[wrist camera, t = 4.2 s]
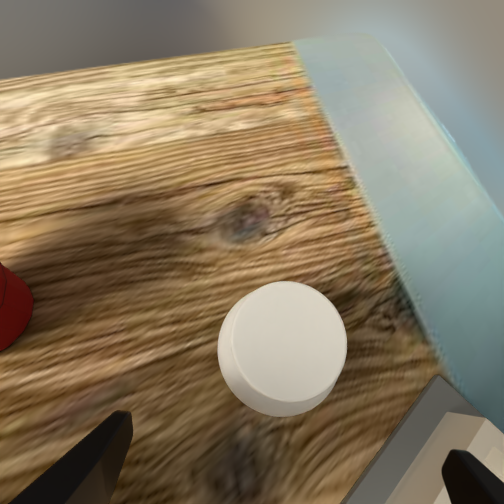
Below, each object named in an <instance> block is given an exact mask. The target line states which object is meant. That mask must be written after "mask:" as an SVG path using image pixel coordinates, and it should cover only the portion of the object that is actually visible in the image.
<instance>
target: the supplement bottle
mask: <svg viewBox="0 0 504 504" xmlns="http://www.w3.org/2000/svg"><path fill="white" fill-rule="evenodd" d="M346 354H347V336H346V330H345V327H344V324H343V321H342V319H341V317H340V315H339V313H338V311H337V310H336V308H335V307H334V305H333V304H332V303H331V302H330V301H329V300H328V299H327V298H326V297H325V296H324V295H323V294H321V293H320V292H319V291H317V290H315V289H314V288H312V287H310V286H307V285H305V284H301V283H298V282H290V281H281V282H274V283H270V284H267V285H265V286H262V287H260V288H258V289H257V290H255V291H253V292H251V293H249V294H247V295H246V296H244V297H243V298H242V299H240V300H239V301H238V302H237V303H236V304H235V305H234V306H233V307H232V309H231V310H230V311H229V313H228V314H227V316H226V318H225V320H224V322H223V324H222V327H221V330H220V334H219V339H218V360H219V365H220V369H221V372H222V375H223V377H224V379H225V381H226V383H227V385H228V387H229V388H230V389H231V391H232V392H233V393H234V395H235V396H236V397H237V398H238V399H239V400H240V401H241V402H243V403H244V404H245V405H247V406H248V407H250V408H251V409H253V410H255V411H257V412H259V413H262V414H265V415H269V416H275V417H289V416H295V415H298V414H302V413H304V412H307V411H309V410H311V409H313V408H314V407H316V406H317V405H318V404H320V403H321V402H322V401H323V400H324V399H325V398H326V397H327V396H328V394H329V393H330V392H331V390H332V389H333V387H334V385H335V383H336V381H337V379H338V376H339V375H340V373H341V371H342V369H343V366H344V363H345V359H346Z"/></svg>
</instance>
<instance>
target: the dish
mask: <svg viewBox="0 0 504 504" xmlns="http://www.w3.org/2000/svg"><path fill="white" fill-rule="evenodd" d="M452 449H459V450H466V451H468V452H470V453H471V454H473V455H474V456H475V457H476V458H477V459H478V460H479V461H480V462H481V463H483V464H484V465H485V466H486V467H487V468H488V469H489V470H490V471H491V472H493V473H494V474H495V475H496V476H497V477H498V478H499V479H500V480H501V481H503V482H504V434H503V433H502V432H501V431H500V430H499V429H498V428H497V427H495V426H494V425H493V424H492V423H491V422H490V421H489V420H488V419H487V418H482V417H476V416H470V415H464V414H458V413H452V412H446V414H445V415H444V417H443V418H442V420H441V421H440V423H439V424H438V426H437V427H436V429H435V430H434V431H433V433H432V434H431V436H430V437H429V439H428V440H427V442H426V443H425V445H424V446H423V448H422V449H421V451H420V452H419V454H418V455H417V457H416V458H415V459H414V461H413V462H412V464H411V465H410V467H409V468H408V470H407V471H406V473H405V474H404V476H403V477H402V479H401V480H400V482H399V483H398V485H397V486H396V487H395V489H394V490H393V492H392V493H391V495H390V496H389V498H388V499H387V501H386V502H385V504H451V502H450V499H449V496H448V493H447V490H446V487H445V484H444V481H443V478H442V473H441V469H442V465H443V463H444V461H445V459H446V457H447V455H448V453H449V451H450V450H452Z"/></svg>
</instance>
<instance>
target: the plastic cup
mask: <svg viewBox="0 0 504 504" xmlns="http://www.w3.org/2000/svg"><path fill="white" fill-rule="evenodd" d="M33 301H34V299H33V297H32V294H31V291H30V288H29V287H28V286H27V285H26V283H25V282H24V281H23V280H22V279H20V278H19V277H18V276H17V275H15V274H14V273H13V272H12V271H10V270H9V269H7V268H6V267H5V266H3V265H2V264H1V262H0V351H1V350H3V349H5V348H7V347H8V346H10V345H11V344H12V343H13V342H14V341H15V340H16V339H17V337H18V336H19V335H20V334H21V333H22V332H23V331H24V329H25V327H26V325H27V323H28V322H29V320H30V318H31V316H32V309H33Z"/></svg>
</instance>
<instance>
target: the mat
mask: <svg viewBox="0 0 504 504" xmlns="http://www.w3.org/2000/svg"><path fill="white" fill-rule="evenodd" d="M446 412H452V413H458V414H464V415H470V416H476V417H482V418H485V417H484V416H483V415H482V414H481V413H480V412H479V411H478V410H476V409H475V408H474V407H473V406H472V405H471V404H470V403H469V402H468V401H467V400H465V399H464V398H463V397H462V396H461V395H460V394H459V393H458V392H457V391H456V390H455V389H453V388H452V387H451V386H450V385H449V384H448V383H447V382H446V381H445V380H444V379H443V378H441V377H440V376H439V375H434V376H433V378H432V379H431V380H430V382H429V383H428V384H427V386H426V387H425V388H424V390H423V391H422V393H421V394H420V395H419V397H418V398H417V399H416V401H415V402H414V404H413V405H412V406H411V408H410V409H409V410H408V412H407V413H406V414H405V416H404V417H403V419H402V420H401V421H400V423H399V424H398V425H397V427H396V428H395V430H394V431H393V432H392V434H391V435H390V436H389V438H388V439H387V440H386V442H385V443H384V445H383V446H382V447H381V449H380V450H379V451H378V453H377V454H376V455H375V457H374V458H373V460H372V461H371V462H370V464H369V465H368V466H367V468H366V469H365V471H364V472H363V473H362V475H361V476H360V477H359V479H358V480H357V481H356V483H355V484H354V486H353V487H352V488H351V490H350V491H349V492H348V494H347V495H346V497H345V498H344V499H343V501H342V502H341V503H340V504H385V502H386V501H387V499H388V498H389V496H390V495H391V493H392V492H393V490H394V489H395V487H396V486H397V485H398V483H399V482H400V480H401V479H402V477H403V476H404V474H405V473H406V471H407V470H408V468H409V467H410V465H411V464H412V462H413V461H414V459H415V458H416V457H417V455H418V454H419V452H420V451H421V449H422V448H423V446H424V445H425V443H426V442H427V440H428V439H429V437H430V436H431V434H432V433H433V431H434V430H435V429H436V427H437V426H438V424H439V423H440V421H441V420H442V418H443V417H444V415H445V414H446Z"/></svg>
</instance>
